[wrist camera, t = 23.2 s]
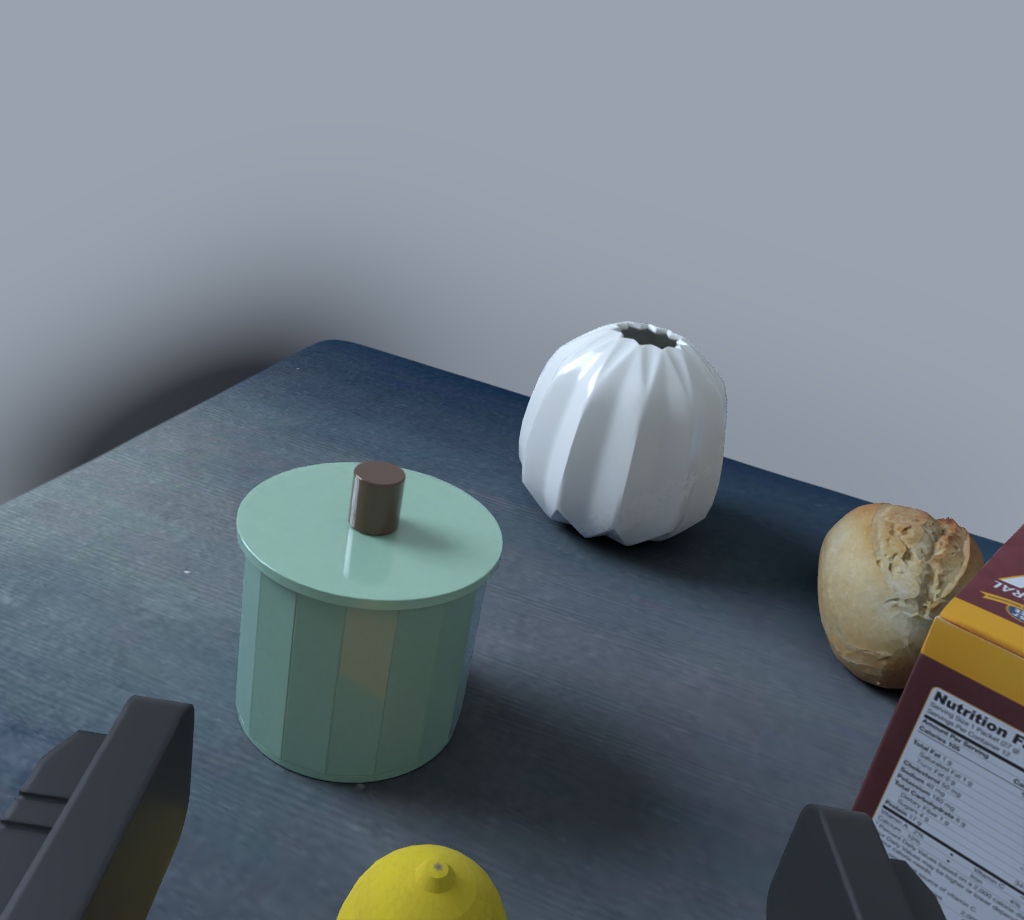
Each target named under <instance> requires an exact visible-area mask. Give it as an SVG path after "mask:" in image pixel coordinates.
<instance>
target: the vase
mask: <svg viewBox="0 0 1024 920" xmlns="http://www.w3.org/2000/svg"><path fill="white" fill-rule="evenodd" d="M726 420H727V396H726V389H725V384H724V381H723V380H722V378H721V377H720V376H719V374H718V373H717V372H716V370H715V369H714V367H713V366H712V365H711V364H710V363H709V361H708V360H707V359H706V357H705V356H704V355H703V354H702V353H701V352H700V351H699V350H698V349H697V348H696V347H695V346H694V345H693V344H692V343H691V342H690V341H688V340H687V339H686V338H684V337H682V336H679V335H676V334H675V333H674V332H672V331H671V330H668V329H664V328H658V327H655V326H653V325H651V324H638V323H634V322H621V323H612V324H608V325H604V326H602V327H600V328H597V329H595V330H592V331H590V332H588V333H585V334H583V335H582V336H580V337H578V338H576V339H574V340H572V341H570V342H568V343H567V344H565V345H563V346H561V347H560V348H559V349H558V350H557V351H556V352H555V353H554V355H553V356H552V357H551V358H550V360H549V361H548V362H547V364H546V366H545V367H544V370H543V371H542V373H541V375H540V377H539V379H538V381H537V384H536V386H535V389H534V392H533V393H532V396H531V398H530V401H529V404H528V407H527V410H526V413H525V416H524V419H523V422H522V427H521V433H520V438H519V458H520V461H521V464H522V482H523V483H524V485H525V486H526V488H527V489H528V490H529V492H530V493H531V495H532V496H533V498H534V499H535V500H536V502H537V503H538V504H539V506H540V507H541V508H542V510H543V511H544V513H545V514H546V515H547V516H548V517H549V518H550V519H551V520H554V521H557V522H562V523H566V524H571V525H572V526H573V527H574V528H575V529H576V530H577V531H578V532H579V533H580V534H581V535H582V536H584V537H585V538H590V537H597V536H603V535H606V536H607V537H609V538H611V539H613V540H615V541H617V542H619V543H621V544H623V545H625V546H630V545H635V544H638V543H641V542H644V541H647V540H650V541H658V542H660V541H663V540H666V539H668V538H670V537H672V536H674V535H676V534H678V533H680V532H682V531H684V530H686V529H687V528H689V527H691V526H693V525H694V524H696V523H698V522H700V521H701V520H703V519H705V517H706V515H707V513H708V512H709V510H710V508H711V506H712V504H713V501H714V498H715V495H716V491H717V488H718V485H719V480H720V474H721V468H722V462H723V453H724V442H725V430H726Z"/></svg>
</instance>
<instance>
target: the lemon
mask: <svg viewBox="0 0 1024 920" xmlns="http://www.w3.org/2000/svg"><path fill="white" fill-rule="evenodd" d="M337 920H507V917H506V913H505V910H504V907H503V904H502V901H501V898H500V895H499V892H498V890H497V889H496V887H495V886H494V884H493V883H492V881H491V879H490V878H489V876H488V875H487V873H486V872H485V871H484V870H483V869H482V868H481V867H480V866H479V865H478V864H477V863H476V862H474V861H473V860H472V859H470V858H468V857H467V856H465V855H463V854H462V853H460V852H458V851H456V850H453V849H450V848H447V847H444V846H438V845H431V844H426V845H413V846H409V847H405V848H402V849H398V850H395V851H393V852H392V853H390V854H388V855H386V856H384V857H383V858H381V859H379V860H378V861H376V862H375V863H374V864H373V865H372V866H371V867H370V868H369V869H368V870H367V871H366V872H365V873H364V874H363V875H362V876H361V877H360V878H359V879H358V881H357V882H356V884H355V885H354V887H353V889H352V890H351V892H350V894H349V895H348V897H347V898H346V900H345V902H344V904H343V906H342V908H341V910H340V912H339V914H338V917H337Z"/></svg>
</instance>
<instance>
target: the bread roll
mask: <svg viewBox="0 0 1024 920" xmlns="http://www.w3.org/2000/svg"><path fill="white" fill-rule="evenodd" d="M983 566H984V561H983V558H982V554H981V551H980V549H979V547H978V545H977V544H976V542H975V540H974V539H973V538H972V536H971V535H970V534H969V533H968V532H967V530H966V529H965V528H963V527H960V526H958V524H957V523H956V522H955V521H954V520H953V519H949V517H948V518H947V519H946V520H945V519H944V518H943V519H937V520H935V519H934V518H933V517H931V516H930V515H929V514H928V513H926V512H924V511H921V510H918V509H914V508H910V507H904V506H898V505H892V504H889V503H876V504H869V505H863V506H860V507H857V508H856V509H854V510H852V511H851V512H849V513H848V514H846V515H845V516H844V517H843V518H842V519H841V520H839V521H838V522H837V523H836V524H835V525H834V526H833V527H832V528H831V530H830V531H829V532H828V533H827V535H826V537H825V538H824V540H823V543H822V546H821V550H820V556H819V567H818V602H819V611H820V616H821V621H822V624H823V627H824V630H825V633H826V635H827V638H828V641H829V644H830V646H831V648H832V650H833V652H834V654H835V656H836V657H837V659H838V660H839V661H840V662H841V663H842V664H843V665H844V666H845V667H847V668H848V669H849V670H850V671H851V672H852V673H853V674H854V675H855V676H857V677H858V678H860V679H861V680H863V681H866V682H868V683H870V684H873V685H876V686H880V687H883V688H894V689H902V688H905V686H906V684H907V681H908V679H909V677H910V674H911V672H912V669H913V667H914V665H915V663H916V661H917V658H918V656H919V654H920V652H921V649H922V647H923V644H924V642H925V640H926V638H927V635H928V633H929V631H930V628H931V626H932V624H933V621H934V619H935V617H936V616H938V615H940V614H941V612H942V610H943V609H944V608H945V607H946V606H947V605H948V603H949V602H950V601H951V600H952V599H953V598H954V597H955V596H956V595H957V594H958V593H959V592H960V591H961V590H962V589H963V588H964V587H965V586H966V585H967V584H968V583H969V582H970V580H971V579H972V578H973V577H974V576H975V575H976V574H977V573H978V572H979V571H980V570H981V568H982V567H983Z"/></svg>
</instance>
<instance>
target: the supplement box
mask: <svg viewBox="0 0 1024 920" xmlns="http://www.w3.org/2000/svg"><path fill="white" fill-rule="evenodd" d="M852 811H858V812H864V813H866V814H868V815H869V816H870V817H871V819H872V820H873V822H874V824H875V826H876V828H877V831H878V833H879V835H880V838H881V840H882V842H883V845H884V847H885V849H886V852H887V854H888V857H889V858H891V859H898V860H904V861H906V862H907V863H908V864H909V866H910V867H911V868H912V869H913V870H914V871H915V873H916V874H917V875H918V876H919V877H920V878H921V880H922V881H923V882H924V883H925V884H926V885H927V887H928V888H929V889H930V890H931V891H932V892H933V894H934V895H935V896H936V898H937V900H938V902H939V904H940V906H941V908H942V911H943V913H944V915H945V917H946V919H947V920H1024V524H1023V525H1022V527H1021V528H1020V529H1019V530H1018V531H1017V532H1016V533H1015V534H1014V535H1013V536H1012V537H1011V538H1010V539H1009V540H1008V541H1007V542H1006V543H1005V544H1004V545H1003V546H1002V547H1001V548H1000V549H999V550H998V551H997V552H996V553H995V554H994V556H993V557H992V558H991V559H990V560H989V561H988V562H987V563H986V564H985V565H984V566H983V567H982V568H981V570H980V571H979V572H978V573H977V574H976V575H975V576H974V577H973V578H972V579H971V580H970V582H969V583H968V584H967V585H966V586H965V587H964V588H963V589H962V590H961V591H960V592H959V593H958V594H957V595H956V596H955V597H954V598H953V599H952V600H951V601H950V602H949V603H948V605H947V606H946V607H945V608H944V609H943V610H942V612H941V614H940V615H938V616H936V617H935V619H934V621H933V624H932V626H931V628H930V631H929V633H928V635H927V638H926V640H925V642H924V644H923V647H922V649H921V652H920V654H919V656H918V658H917V661H916V663H915V665H914V667H913V669H912V672H911V674H910V677H909V679H908V681H907V684H906V686H905V688H904V691H903V693H902V695H901V697H900V700H899V702H898V704H897V706H896V709H895V711H894V713H893V716H892V718H891V720H890V722H889V725H888V727H887V729H886V731H885V734H884V736H883V738H882V741H881V743H880V745H879V748H878V750H877V752H876V755H875V757H874V759H873V762H872V764H871V766H870V768H869V771H868V773H867V775H866V778H865V780H864V782H863V785H862V787H861V789H860V792H859V794H858V796H857V799H856V801H855V803H854V805H853V808H852Z"/></svg>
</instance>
